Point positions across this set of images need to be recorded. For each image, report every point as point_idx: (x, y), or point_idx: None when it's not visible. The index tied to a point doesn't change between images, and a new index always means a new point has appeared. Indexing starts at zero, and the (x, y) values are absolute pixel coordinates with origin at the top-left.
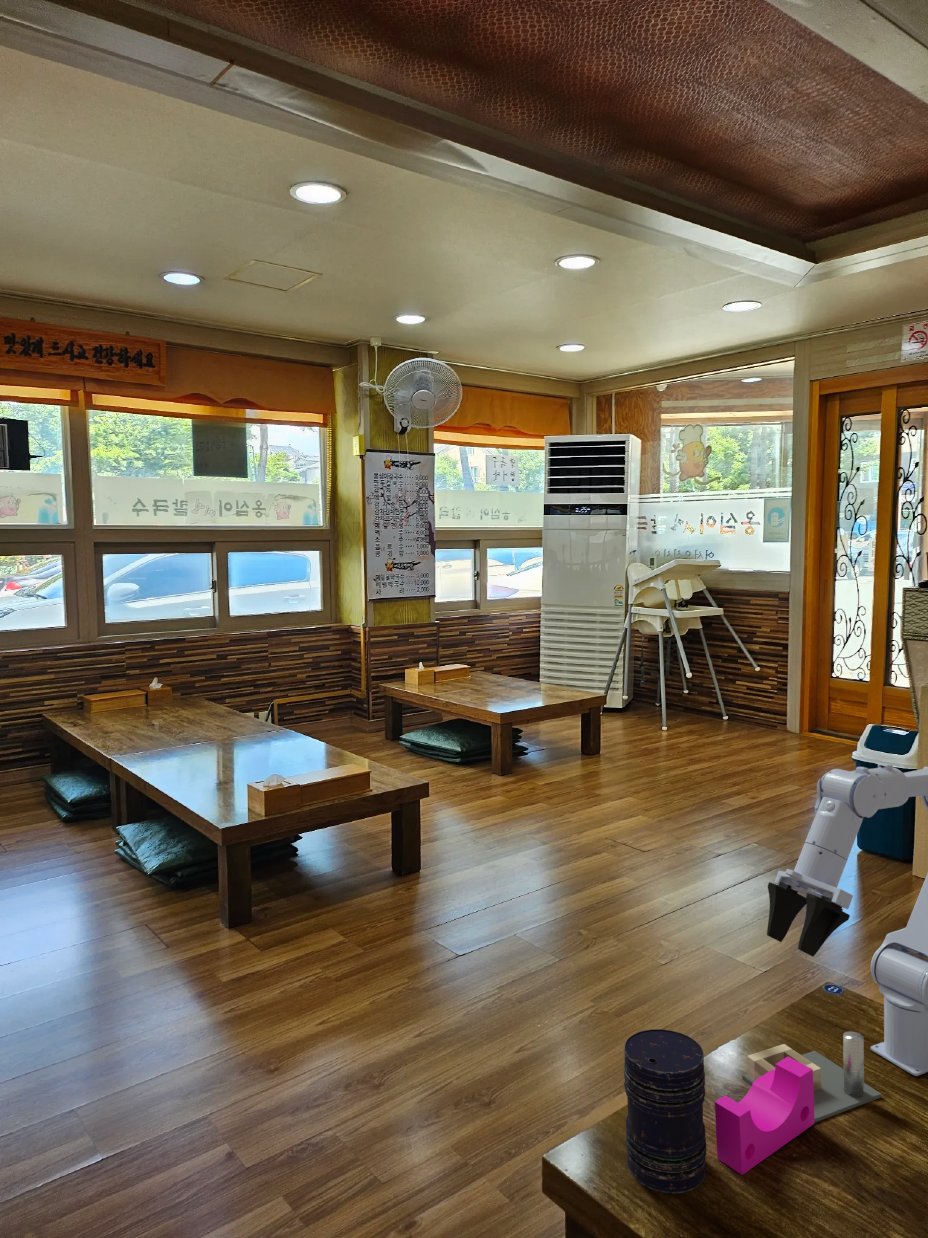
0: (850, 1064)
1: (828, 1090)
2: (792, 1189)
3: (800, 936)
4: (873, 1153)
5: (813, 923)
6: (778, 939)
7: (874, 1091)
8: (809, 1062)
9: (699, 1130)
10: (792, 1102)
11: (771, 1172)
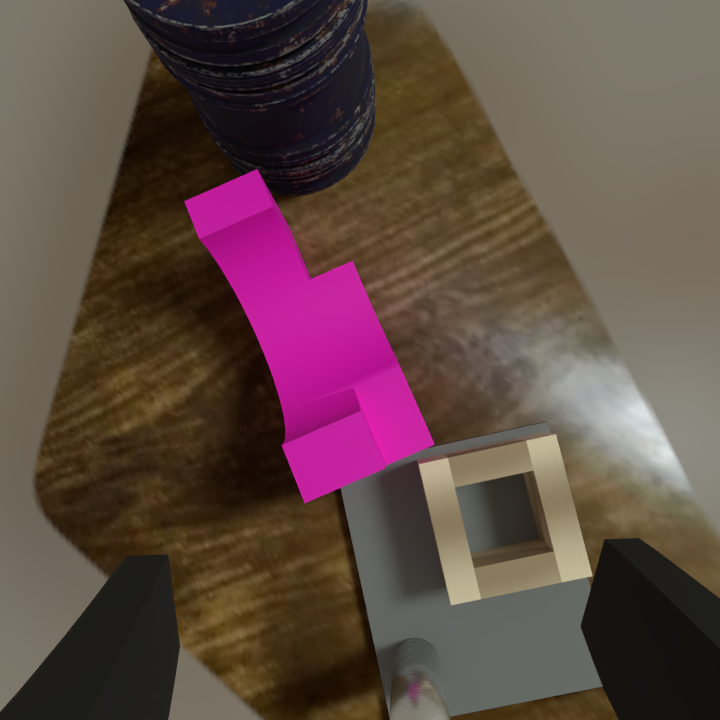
0: (401, 681)
1: (436, 602)
2: (173, 329)
3: (131, 626)
4: (221, 560)
5: None
6: (590, 613)
7: None
8: (484, 591)
9: (201, 109)
10: (290, 415)
11: (225, 314)
